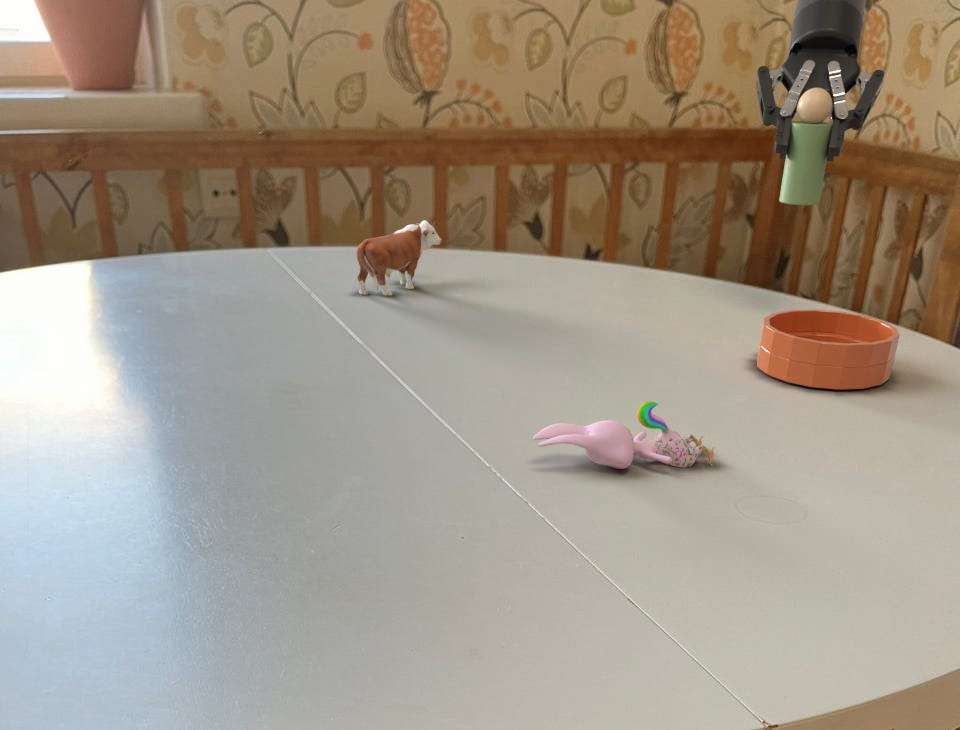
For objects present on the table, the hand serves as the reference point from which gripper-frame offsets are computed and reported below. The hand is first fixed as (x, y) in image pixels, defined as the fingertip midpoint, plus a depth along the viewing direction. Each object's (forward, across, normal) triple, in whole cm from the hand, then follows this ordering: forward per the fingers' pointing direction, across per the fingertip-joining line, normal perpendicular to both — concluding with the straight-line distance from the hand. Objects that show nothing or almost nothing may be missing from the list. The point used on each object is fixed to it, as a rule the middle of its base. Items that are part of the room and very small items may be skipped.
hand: (807, 154), depth 113 cm
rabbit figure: (+48, -11, -21) cm, 53 cm away
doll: (+2, 0, +5) cm, 5 cm away
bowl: (+25, +5, +2) cm, 26 cm away
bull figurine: (+12, -48, +14) cm, 52 cm away
